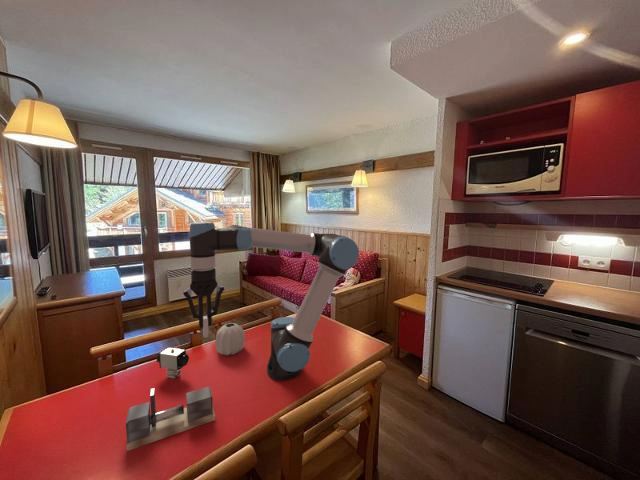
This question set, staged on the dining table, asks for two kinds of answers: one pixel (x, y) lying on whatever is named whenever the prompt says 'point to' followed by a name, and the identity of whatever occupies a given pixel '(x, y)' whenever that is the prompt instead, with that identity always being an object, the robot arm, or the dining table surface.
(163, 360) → the pneumatic valve
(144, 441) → the base
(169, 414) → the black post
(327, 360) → the dining table surface
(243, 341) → the vase
